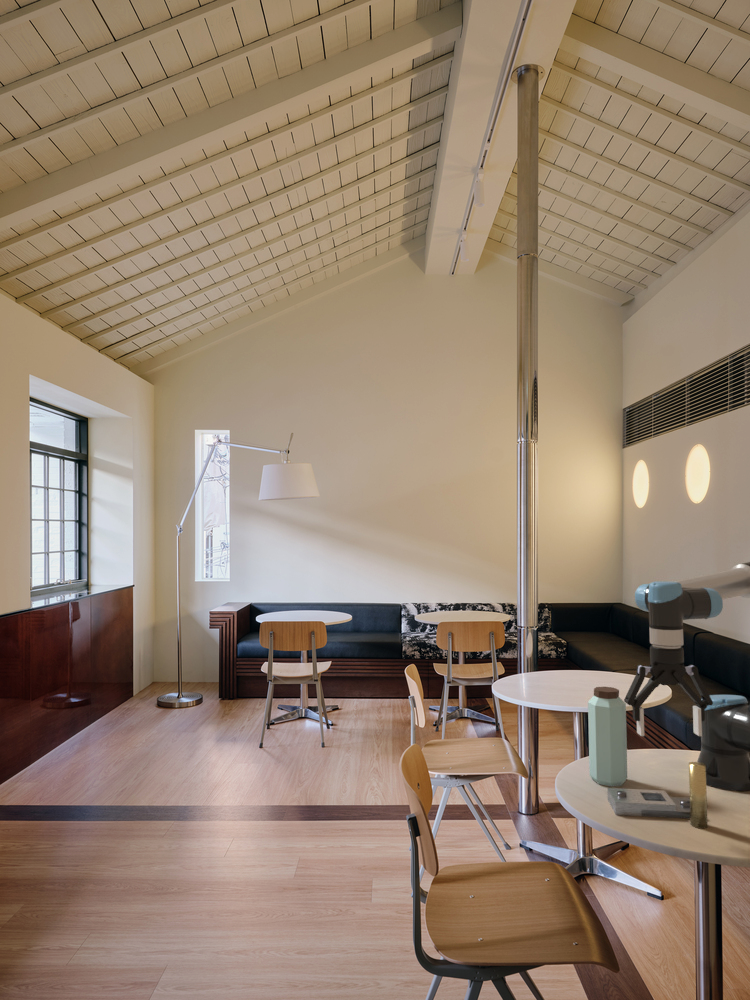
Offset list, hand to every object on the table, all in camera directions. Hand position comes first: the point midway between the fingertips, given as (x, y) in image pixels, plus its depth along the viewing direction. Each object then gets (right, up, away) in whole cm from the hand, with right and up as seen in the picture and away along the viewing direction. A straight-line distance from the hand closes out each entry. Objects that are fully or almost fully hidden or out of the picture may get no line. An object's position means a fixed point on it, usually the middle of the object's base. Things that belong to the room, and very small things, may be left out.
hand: (669, 734), depth 158 cm
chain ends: (-2, -20, +4) cm, 21 cm away
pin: (+5, -20, -5) cm, 21 cm away
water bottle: (-6, -21, +23) cm, 32 cm away
